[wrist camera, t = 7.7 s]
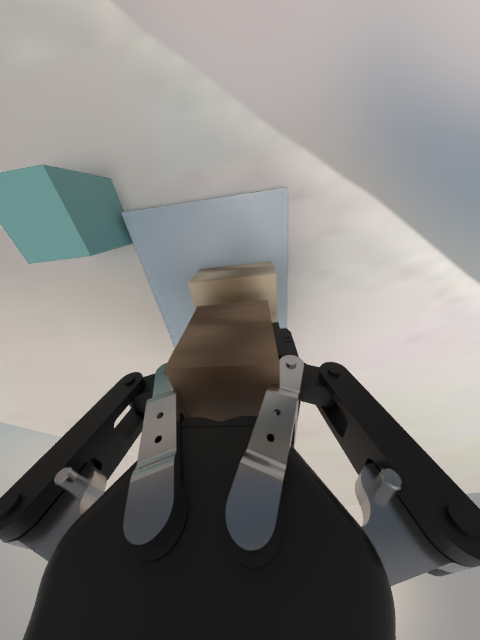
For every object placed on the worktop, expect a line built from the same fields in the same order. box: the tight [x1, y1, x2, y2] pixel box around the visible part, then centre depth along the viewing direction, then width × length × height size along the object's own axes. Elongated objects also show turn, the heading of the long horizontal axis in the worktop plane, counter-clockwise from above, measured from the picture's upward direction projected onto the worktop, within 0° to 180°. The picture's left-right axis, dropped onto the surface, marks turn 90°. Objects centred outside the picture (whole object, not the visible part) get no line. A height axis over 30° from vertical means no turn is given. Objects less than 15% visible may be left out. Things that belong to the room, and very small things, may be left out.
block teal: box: [0, 165, 133, 264], centre depth 14 cm, size 5×5×6 cm
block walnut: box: [164, 300, 280, 421], centre depth 12 cm, size 5×5×6 cm
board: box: [121, 187, 288, 348], centre depth 20 cm, size 14×18×1 cm
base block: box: [188, 261, 277, 322], centre depth 18 cm, size 7×7×4 cm
